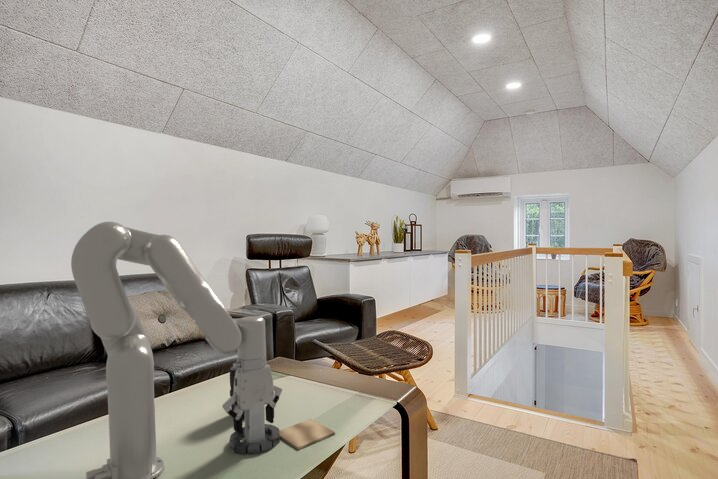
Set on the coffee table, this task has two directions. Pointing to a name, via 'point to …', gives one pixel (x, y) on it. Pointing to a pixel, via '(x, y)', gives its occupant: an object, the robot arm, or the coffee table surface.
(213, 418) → the coffee table surface
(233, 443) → the collar
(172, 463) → the coffee table surface
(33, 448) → the coffee table surface
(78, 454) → the coffee table surface
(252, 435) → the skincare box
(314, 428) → the pad
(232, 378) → the camera lens
